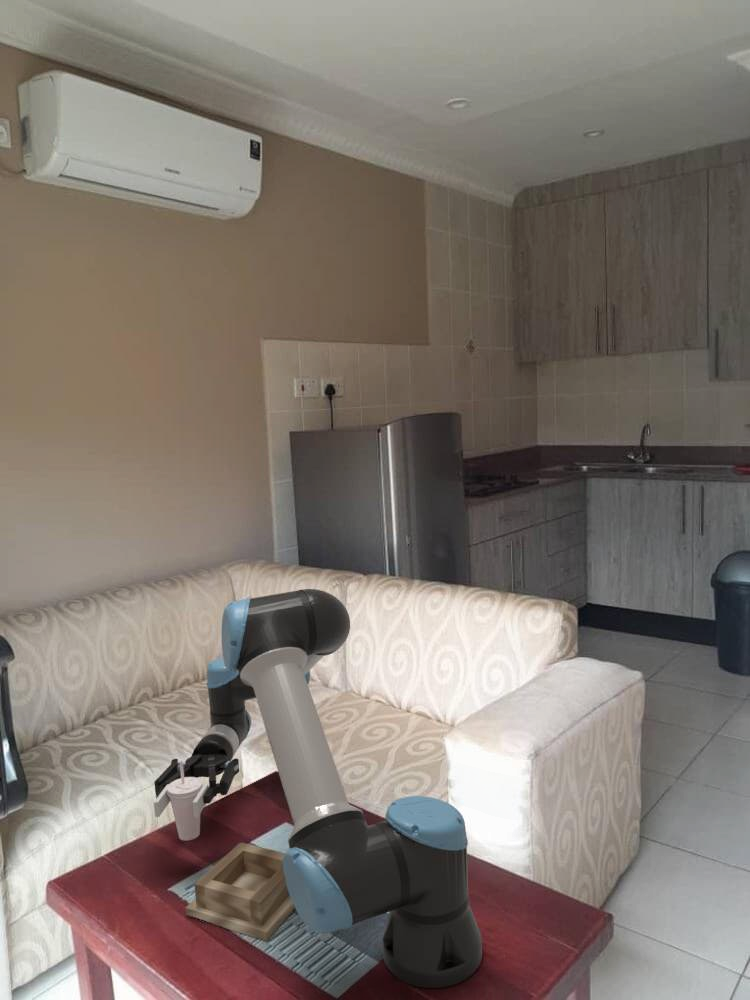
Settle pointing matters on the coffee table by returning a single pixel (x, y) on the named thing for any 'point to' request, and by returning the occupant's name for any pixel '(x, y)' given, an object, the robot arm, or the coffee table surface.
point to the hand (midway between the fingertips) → (175, 809)
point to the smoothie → (185, 804)
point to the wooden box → (244, 892)
